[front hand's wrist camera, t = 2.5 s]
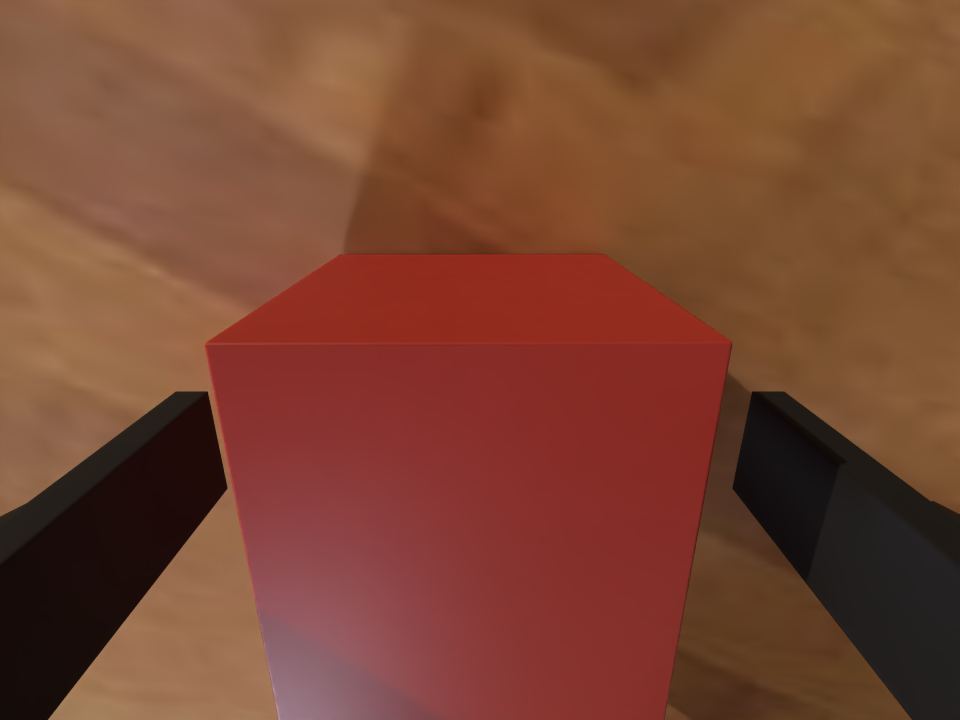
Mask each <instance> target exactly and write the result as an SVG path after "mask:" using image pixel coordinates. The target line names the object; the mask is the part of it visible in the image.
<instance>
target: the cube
mask: <svg viewBox="0 0 960 720" xmlns="http://www.w3.org/2000/svg"><path fill="white" fill-rule="evenodd" d="M731 348H732V342H731V341H730V340H729V339H727V338H726V337H724V336H723V335H721V334H720V333H718V332H717V331H716V330H714V329H713V328H711V327H710V326H708V325H707V324H705V323H704V322H702V321H701V320H699V319H698V318H697V317H695V316H694V315H692V314H691V313H689V312H688V311H686V310H685V309H683V308H682V307H680V306H679V305H678V304H676V303H675V302H673V301H672V300H670V299H669V298H667V297H666V296H664V295H663V294H661V293H660V292H659V291H657V290H656V289H654V288H653V287H651V286H650V285H648V284H647V283H645V282H644V281H643V280H641V279H640V278H638V277H637V276H635V275H634V274H632V273H631V272H629V271H628V270H626V269H625V268H624V267H622V266H621V265H619V264H618V263H616V262H615V261H613V260H612V259H610V258H609V257H607V256H606V255H604V254H341V255H339V256H337V257H336V258H334V259H333V260H331V261H330V262H328V263H326V264H325V265H323V266H322V267H320V268H319V269H317V270H316V271H314V272H313V273H311V274H310V275H308V276H307V277H305V278H304V279H302V280H301V281H299V282H298V283H296V284H295V285H293V286H291V287H290V288H288V289H287V290H285V291H284V292H282V293H281V294H279V295H278V296H276V297H275V298H273V299H272V300H270V301H269V302H267V303H266V304H264V305H263V306H261V307H259V308H258V309H256V310H255V311H253V312H252V313H250V314H249V315H247V316H246V317H244V318H243V319H241V320H240V321H238V322H237V323H235V324H234V325H232V326H231V327H229V328H228V329H226V330H224V331H223V332H221V333H220V334H218V335H217V336H215V337H214V338H212V339H211V340H209V341H208V342H206V343H205V350H206V355H207V360H208V365H209V370H210V375H211V380H212V385H213V390H214V395H215V400H216V405H217V410H218V415H219V420H220V425H221V430H222V435H223V440H224V445H225V451H226V456H227V461H228V466H229V471H230V476H231V481H232V486H233V491H234V496H235V501H236V506H237V511H238V516H239V521H240V526H241V531H242V536H243V541H244V546H245V551H246V557H247V562H248V567H249V572H250V577H251V582H252V587H253V592H254V597H255V602H256V607H257V612H258V617H259V622H260V627H261V632H262V637H263V642H264V647H265V652H266V658H267V663H268V668H269V673H270V678H271V683H272V688H273V693H274V698H275V703H276V708H277V713H278V718H279V720H664V718H665V712H666V707H667V701H668V696H669V690H670V685H671V679H672V674H673V668H674V663H675V657H676V652H677V646H678V641H679V635H680V630H681V624H682V619H683V613H684V608H685V602H686V597H687V591H688V586H689V580H690V574H691V569H692V563H693V558H694V552H695V547H696V541H697V536H698V530H699V525H700V519H701V514H702V508H703V503H704V497H705V492H706V486H707V481H708V475H709V470H710V464H711V459H712V453H713V448H714V442H715V437H716V431H717V425H718V420H719V414H720V409H721V403H722V398H723V392H724V387H725V381H726V376H727V370H728V365H729V359H730V354H731Z"/></svg>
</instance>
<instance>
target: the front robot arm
mask: <svg viewBox="0 0 960 720" xmlns="http://www.w3.org/2000/svg"><path fill="white" fill-rule="evenodd" d="M227 489H228V488H227V483H226V478H225V474H224V469H223V464H222V459H221V454H220V449H219V444H218V439H217V435H216V430H215V425H214V420H213V415H212V410H211V405H210V400H209V395H208V392H175V393H173V394H172V395H171V396H169V397H168V398H167V399H165V400H164V401H163V402H161V403H160V404H159V405H157V406H156V407H155V408H153V409H152V410H151V411H149V412H148V413H147V414H145V415H144V416H143V417H141V418H140V419H139V420H137V421H136V422H135V423H133V424H132V425H131V426H129V427H128V428H127V429H125V430H124V431H123V432H121V433H120V434H119V435H117V436H116V437H115V438H113V439H112V440H111V441H109V442H108V443H107V444H105V445H104V446H103V447H101V448H100V449H99V450H97V451H96V452H95V453H93V454H92V455H91V456H89V457H88V458H87V459H85V460H84V461H83V462H81V463H80V464H79V465H77V466H76V467H75V468H73V469H72V470H71V471H69V472H68V473H67V474H65V475H64V476H63V477H61V478H60V479H59V480H57V481H56V482H55V483H53V484H52V485H51V486H49V487H48V488H47V489H45V490H44V491H43V492H41V493H40V494H39V495H37V496H36V497H35V498H33V499H32V500H31V501H29V502H28V503H26V504H24V505H22V506H20V507H18V508H17V509H15V510H13V511H11V512H9V513H7V514H5V515H3V516H1V517H0V720H48V719H49V718H50V716H51V715H52V714H53V712H54V711H55V710H56V709H57V707H58V706H59V705H60V703H61V702H62V701H63V700H64V698H65V697H66V696H67V694H68V693H69V692H70V691H71V689H72V688H73V687H74V685H75V684H76V683H77V682H78V680H79V679H80V678H81V676H82V675H83V674H84V673H85V671H86V670H87V669H88V667H89V666H90V665H91V664H92V662H93V661H94V660H95V658H96V657H97V656H98V655H99V653H100V652H101V651H102V649H103V648H104V647H105V646H106V644H107V643H108V642H109V640H110V639H111V638H112V637H113V635H114V634H115V633H116V631H117V630H118V629H119V628H120V626H121V625H122V624H123V622H124V621H125V620H126V618H127V617H128V616H129V615H130V613H131V612H132V611H133V609H134V608H135V607H136V606H137V604H138V603H139V602H140V600H141V599H142V598H143V597H144V595H145V594H146V593H147V591H148V590H149V589H150V588H151V586H152V585H153V584H154V582H155V581H156V580H157V579H158V577H159V576H160V575H161V573H162V572H163V571H164V570H165V568H166V567H167V566H168V564H169V563H170V562H171V561H172V559H173V558H174V557H175V555H176V554H177V553H178V552H179V550H180V549H181V548H182V546H183V545H184V544H185V543H186V541H187V540H188V539H189V537H190V536H191V535H192V534H193V532H194V531H195V530H196V528H197V527H198V526H199V525H200V523H201V522H202V521H203V519H204V518H205V517H206V516H207V514H208V513H209V512H210V510H211V509H212V508H213V507H214V505H215V504H216V503H217V501H218V500H219V499H220V498H221V496H222V495H223V494H224V492H225V491H226V490H227ZM732 489H733V490H734V491H735V492H736V494H737V495H738V496H739V498H740V499H741V500H742V501H743V503H744V504H745V505H746V507H747V508H748V509H749V510H750V512H751V513H752V514H753V516H754V517H755V518H756V519H757V521H758V522H759V523H760V525H761V526H762V527H763V528H764V530H765V531H766V532H767V534H768V535H769V536H770V537H771V539H772V540H773V541H774V543H775V544H776V545H777V546H778V548H779V549H780V550H781V552H782V553H783V554H784V555H785V557H786V558H787V559H788V561H789V562H790V563H791V564H792V566H793V567H794V568H795V570H796V571H797V572H798V573H799V575H800V576H801V577H802V579H803V580H804V581H805V582H806V584H807V585H808V586H809V588H810V589H811V590H812V591H813V593H814V594H815V595H816V597H817V598H818V599H819V600H820V602H821V603H822V604H823V606H824V607H825V608H826V609H827V611H828V612H829V613H830V615H831V616H832V617H833V618H834V620H835V621H836V622H837V624H838V625H839V626H840V628H841V629H842V630H843V631H844V633H845V634H846V635H847V637H848V638H849V639H850V640H851V642H852V643H853V644H854V646H855V647H856V648H857V649H858V651H859V652H860V653H861V655H862V656H863V657H864V658H865V660H866V661H867V662H868V664H869V665H870V666H871V667H872V669H873V670H874V671H875V673H876V674H877V675H878V676H879V678H880V679H881V680H882V682H883V683H884V684H885V685H886V687H887V688H888V689H889V691H890V692H891V693H892V694H893V696H894V697H895V698H896V700H897V701H898V702H899V703H900V705H901V706H902V707H903V709H904V710H905V711H906V712H907V714H908V715H909V716H910V718H911V719H912V720H960V514H958V513H956V512H954V511H952V510H950V509H948V508H946V507H944V506H942V505H940V504H938V503H936V502H934V501H929V500H928V499H927V498H925V497H924V496H923V495H921V494H920V493H919V492H917V491H916V490H915V489H913V488H912V487H911V486H909V485H908V484H907V483H905V482H904V481H903V480H901V479H900V478H899V477H897V476H896V475H895V474H893V473H892V472H891V471H889V470H888V469H887V468H885V467H884V466H883V465H881V464H880V463H879V462H877V461H876V460H875V459H873V458H872V457H871V456H869V455H868V454H867V453H865V452H864V451H863V450H861V449H860V448H859V447H857V446H856V445H855V444H853V443H852V442H851V441H849V440H848V439H847V438H845V437H844V436H843V435H841V434H840V433H839V432H837V431H836V430H835V429H833V428H832V427H831V426H829V425H828V424H827V423H825V422H824V421H823V420H821V419H820V418H819V417H817V416H816V415H815V414H813V413H812V412H811V411H809V410H808V409H807V408H805V407H804V406H803V405H801V404H800V403H799V402H797V401H796V400H795V399H793V398H792V397H791V396H789V395H788V394H787V393H785V392H752V395H751V400H750V405H749V410H748V415H747V420H746V425H745V430H744V435H743V439H742V444H741V449H740V454H739V459H738V464H737V469H736V474H735V478H734V483H733V488H732Z"/></svg>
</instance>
